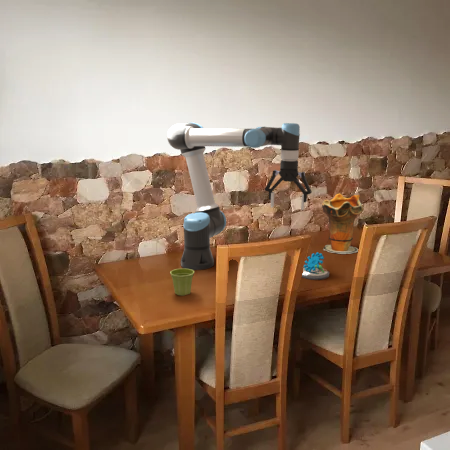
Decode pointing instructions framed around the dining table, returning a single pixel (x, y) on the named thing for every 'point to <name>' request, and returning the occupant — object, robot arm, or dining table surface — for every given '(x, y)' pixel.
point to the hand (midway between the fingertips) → (287, 208)
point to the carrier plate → (315, 274)
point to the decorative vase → (341, 222)
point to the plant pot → (182, 280)
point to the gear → (314, 262)
